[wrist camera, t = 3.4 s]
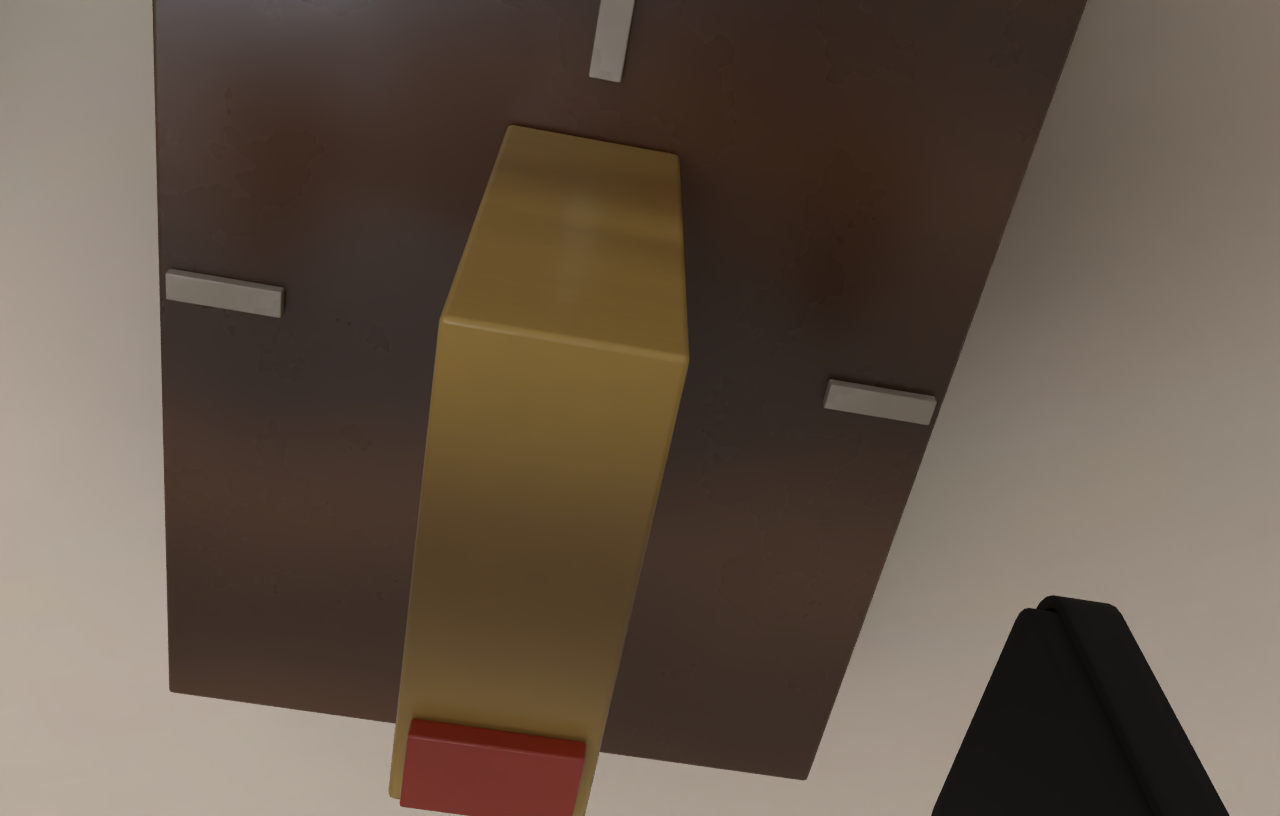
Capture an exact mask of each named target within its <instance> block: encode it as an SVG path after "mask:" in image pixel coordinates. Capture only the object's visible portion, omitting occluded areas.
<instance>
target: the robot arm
mask: <svg viewBox="0 0 1280 816" xmlns="http://www.w3.org/2000/svg"><path fill="white" fill-rule="evenodd" d="M931 816H1229V814H1228V812H1227V810H1226V808H1225V806H1224V805H1223V803H1222V801H1221V799H1220V797H1219V795H1218V793H1217V791H1216V790H1215V788H1214V786H1213V784H1212V782H1211V780H1210V778H1209V777H1208V775H1207V773H1206V771H1205V769H1204V767H1203V765H1202V763H1201V762H1200V760H1199V758H1198V756H1197V754H1196V752H1195V750H1194V749H1193V747H1192V745H1191V743H1190V741H1189V739H1188V737H1187V735H1186V734H1185V732H1184V730H1183V728H1182V726H1181V724H1180V722H1179V721H1178V719H1177V717H1176V715H1175V713H1174V711H1173V709H1172V708H1171V706H1170V704H1169V702H1168V700H1167V698H1166V696H1165V694H1164V693H1163V691H1162V689H1161V687H1160V685H1159V683H1158V681H1157V680H1156V678H1155V676H1154V674H1153V672H1152V670H1151V668H1150V666H1149V665H1148V663H1147V661H1146V659H1145V657H1144V655H1143V653H1142V652H1141V650H1140V648H1139V646H1138V644H1137V642H1136V640H1135V638H1134V637H1133V635H1132V633H1131V631H1130V629H1129V627H1128V625H1127V624H1126V622H1125V620H1124V618H1123V616H1122V614H1121V613H1120V612H1119V610H1118V609H1117V608H1116V607H1115V606H1113V605H1110V604H1107V603H1101V602H1094V601H1087V600H1080V599H1074V598H1067V597H1060V596H1054V595H1053V596H1048V597H1046V598H1044V599H1043V600H1042V601H1041V602H1040V603H1039V605H1038V607H1037V609H1032V608H1027V609H1024V610H1023V611H1022V612H1020V613H1019V615H1018V617H1017V619H1016V620H1015V623H1014V625H1013V627H1012V630H1011V632H1010V634H1009V636H1008V639H1007V641H1006V643H1005V646H1004V648H1003V650H1002V653H1001V655H1000V657H999V659H998V662H997V664H996V666H995V669H994V671H993V673H992V675H991V678H990V680H989V682H988V685H987V687H986V689H985V692H984V694H983V696H982V698H981V701H980V703H979V705H978V708H977V710H976V712H975V714H974V717H973V719H972V721H971V724H970V726H969V728H968V730H967V733H966V735H965V737H964V740H963V742H962V744H961V747H960V749H959V751H958V753H957V756H956V758H955V760H954V763H953V765H952V767H951V769H950V772H949V774H948V776H947V779H946V781H945V783H944V786H943V788H942V790H941V792H940V795H939V797H938V799H937V802H936V804H935V806H934V809H933V812H932V815H931Z"/></svg>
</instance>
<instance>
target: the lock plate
mask: <svg viewBox="0 0 1280 816" xmlns="http://www.w3.org/2000/svg"><path fill="white" fill-rule="evenodd" d="M152 1H153V41H154V82H155V123H156V164H157V204H158V245H159V286H160V327H161V367H162V408H163V449H164V489H165V530H166V571H167V612H168V653H169V689H170V691H171V692H174V693H181V694H188V695H195V696H203V697H210V698H217V699H224V700H231V701H238V702H246V703H253V704H260V705H267V706H274V707H281V708H289V709H296V710H303V711H310V712H317V713H324V714H332V715H339V716H346V717H353V718H360V719H367V720H375V721H382V722H389V723H396V716H397V707H398V698H399V689H400V679H401V670H402V661H403V651H404V642H405V633H406V624H407V614H408V605H409V596H410V586H411V577H412V568H413V558H414V549H415V540H416V531H417V521H418V512H419V503H420V493H421V484H422V475H423V466H424V456H425V447H426V438H427V428H428V419H429V410H430V401H431V391H432V382H433V373H434V363H435V354H436V345H437V335H438V326H439V319H440V316H441V313H442V311H443V308H444V305H445V302H446V299H447V296H448V294H449V291H450V288H451V285H452V282H453V280H454V277H455V274H456V271H457V268H458V265H459V263H460V260H461V257H462V254H463V251H464V248H465V246H466V243H467V240H468V237H469V234H470V232H471V229H472V226H473V223H474V220H475V217H476V215H477V212H478V209H479V206H480V203H481V201H482V198H483V195H484V192H485V189H486V186H487V184H488V181H489V178H490V175H491V172H492V170H493V167H494V164H495V161H496V158H497V155H498V153H499V150H500V147H501V144H502V141H503V139H504V136H505V133H506V130H507V128H508V127H509V126H511V125H515V126H521V127H526V128H532V129H537V130H543V131H548V132H554V133H559V134H565V135H571V136H576V137H582V138H587V139H593V140H598V141H604V142H609V143H615V144H620V145H626V146H631V147H637V148H642V149H648V150H653V151H659V152H664V153H670V154H675V155H677V156H678V157H679V160H680V178H681V198H682V218H683V239H684V259H685V279H686V299H687V320H688V340H689V360H690V362H689V366H688V371H687V375H686V379H685V384H684V388H683V392H682V397H681V401H680V405H679V410H678V414H677V418H676V423H675V427H674V431H673V436H672V440H671V444H670V449H669V453H668V457H667V462H666V466H665V470H664V475H663V479H662V483H661V488H660V492H659V496H658V501H657V505H656V509H655V514H654V518H653V522H652V527H651V531H650V535H649V540H648V544H647V548H646V553H645V557H644V561H643V566H642V570H641V574H640V579H639V583H638V587H637V592H636V596H635V600H634V605H633V609H632V613H631V618H630V622H629V626H628V631H627V635H626V639H625V644H624V648H623V652H622V657H621V661H620V665H619V670H618V674H617V678H616V683H615V687H614V691H613V696H612V700H611V704H610V709H609V713H608V717H607V722H606V726H605V730H604V735H603V739H602V743H601V748H600V752H604V753H611V754H618V755H626V756H633V757H640V758H647V759H654V760H661V761H669V762H676V763H683V764H690V765H697V766H704V767H712V768H719V769H726V770H733V771H740V772H747V773H755V774H762V775H769V776H776V777H783V778H790V779H798V780H806V779H807V777H808V775H809V772H810V769H811V766H812V763H813V761H814V758H815V755H816V752H817V750H818V747H819V744H820V741H821V738H822V736H823V733H824V730H825V727H826V725H827V722H828V719H829V716H830V714H831V711H832V708H833V705H834V702H835V700H836V697H837V694H838V691H839V689H840V686H841V683H842V680H843V677H844V675H845V672H846V669H847V666H848V664H849V661H850V658H851V655H852V652H853V650H854V647H855V644H856V641H857V639H858V636H859V633H860V630H861V627H862V625H863V622H864V619H865V616H866V614H867V611H868V608H869V605H870V602H871V600H872V597H873V594H874V591H875V589H876V586H877V583H878V580H879V578H880V575H881V572H882V569H883V566H884V564H885V561H886V558H887V555H888V553H889V550H890V547H891V544H892V541H893V539H894V536H895V533H896V530H897V528H898V525H899V522H900V519H901V516H902V514H903V511H904V508H905V505H906V503H907V500H908V497H909V494H910V491H911V489H912V486H913V483H914V480H915V478H916V475H917V472H918V469H919V466H920V464H921V461H922V458H923V455H924V453H925V450H926V447H927V444H928V442H929V439H930V436H931V433H932V430H933V428H934V425H935V422H936V419H937V417H938V414H939V411H940V408H941V405H942V403H943V400H944V397H945V394H946V392H947V389H948V386H949V383H950V380H951V378H952V375H953V372H954V369H955V367H956V364H957V361H958V358H959V355H960V353H961V350H962V347H963V344H964V342H965V339H966V336H967V333H968V330H969V328H970V325H971V322H972V319H973V317H974V314H975V311H976V308H977V306H978V303H979V300H980V297H981V294H982V292H983V289H984V286H985V283H986V281H987V278H988V275H989V272H990V269H991V267H992V264H993V261H994V258H995V256H996V253H997V250H998V247H999V244H1000V242H1001V239H1002V236H1003V233H1004V231H1005V228H1006V225H1007V222H1008V219H1009V217H1010V214H1011V211H1012V208H1013V206H1014V203H1015V200H1016V197H1017V194H1018V192H1019V189H1020V186H1021V183H1022V181H1023V178H1024V175H1025V172H1026V170H1027V167H1028V164H1029V161H1030V158H1031V156H1032V153H1033V150H1034V147H1035V145H1036V142H1037V139H1038V136H1039V133H1040V131H1041V128H1042V125H1043V122H1044V120H1045V117H1046V114H1047V111H1048V108H1049V106H1050V103H1051V100H1052V97H1053V95H1054V92H1055V89H1056V86H1057V83H1058V81H1059V78H1060V75H1061V72H1062V70H1063V67H1064V64H1065V61H1066V58H1067V56H1068V53H1069V50H1070V47H1071V45H1072V42H1073V39H1074V36H1075V34H1076V31H1077V28H1078V25H1079V22H1080V20H1081V17H1082V14H1083V11H1084V9H1085V6H1086V3H1087V0H152Z"/></svg>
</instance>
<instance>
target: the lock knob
mask: <svg viewBox="0 0 1280 816" xmlns="http://www.w3.org/2000/svg"><path fill="white" fill-rule="evenodd" d="M689 362H690V360H689V340H688V320H687V299H686V279H685V259H684V239H683V218H682V198H681V178H680V160H679V157H678V156H677V155H675V154H670V153H664V152H659V151H653V150H648V149H642V148H637V147H631V146H626V145H620V144H615V143H609V142H604V141H598V140H593V139H587V138H582V137H576V136H571V135H565V134H559V133H554V132H548V131H543V130H537V129H532V128H526V127H521V126H515V125H511V126H509V127H508V128H507V130H506V133H505V136H504V139H503V141H502V144H501V147H500V150H499V153H498V155H497V158H496V161H495V164H494V167H493V170H492V172H491V175H490V178H489V181H488V184H487V186H486V189H485V192H484V195H483V198H482V201H481V203H480V206H479V209H478V212H477V215H476V217H475V220H474V223H473V226H472V229H471V232H470V234H469V237H468V240H467V243H466V246H465V248H464V251H463V254H462V257H461V260H460V263H459V265H458V268H457V271H456V274H455V277H454V280H453V282H452V285H451V288H450V291H449V294H448V296H447V299H446V302H445V305H444V308H443V311H442V313H441V316H440V319H439V326H438V335H437V345H436V354H435V363H434V373H433V382H432V391H431V401H430V410H429V419H428V428H427V438H426V447H425V456H424V466H423V475H422V484H421V493H420V503H419V512H418V521H417V531H416V540H415V549H414V558H413V568H412V577H411V586H410V596H409V605H408V614H407V624H406V633H405V642H404V651H403V661H402V670H401V679H400V689H399V698H398V707H397V716H396V726H395V735H394V744H393V754H392V763H391V772H390V782H389V795H390V797H392V798H395V799H400V806H402V807H408V808H415V809H423V810H430V811H438V812H445V813H453V814H460V815H468V816H585V813H586V808H587V804H588V800H589V795H590V791H591V787H592V782H593V778H594V774H595V769H596V765H597V761H598V756H599V752H600V748H601V743H602V739H603V735H604V730H605V726H606V722H607V717H608V713H609V709H610V704H611V700H612V696H613V691H614V687H615V683H616V678H617V674H618V670H619V665H620V661H621V657H622V652H623V648H624V644H625V639H626V635H627V631H628V626H629V622H630V618H631V613H632V609H633V605H634V600H635V596H636V592H637V587H638V583H639V579H640V574H641V570H642V566H643V561H644V557H645V553H646V548H647V544H648V540H649V535H650V531H651V527H652V522H653V518H654V514H655V509H656V505H657V501H658V496H659V492H660V488H661V483H662V479H663V475H664V470H665V466H666V462H667V457H668V453H669V449H670V444H671V440H672V436H673V431H674V427H675V423H676V418H677V414H678V410H679V405H680V401H681V397H682V392H683V388H684V384H685V379H686V375H687V371H688V366H689Z"/></svg>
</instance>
